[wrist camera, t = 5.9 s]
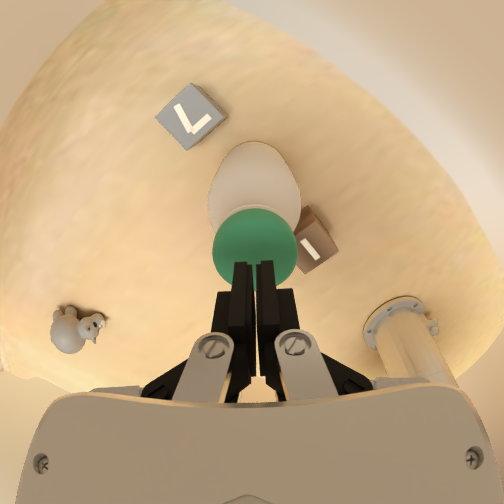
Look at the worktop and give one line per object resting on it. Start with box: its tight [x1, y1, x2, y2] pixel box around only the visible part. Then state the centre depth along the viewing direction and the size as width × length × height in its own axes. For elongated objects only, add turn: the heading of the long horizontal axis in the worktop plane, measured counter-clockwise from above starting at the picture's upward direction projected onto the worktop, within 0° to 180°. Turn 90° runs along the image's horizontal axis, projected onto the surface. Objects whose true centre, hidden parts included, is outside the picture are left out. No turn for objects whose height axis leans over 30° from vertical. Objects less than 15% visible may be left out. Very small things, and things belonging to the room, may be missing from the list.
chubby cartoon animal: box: [51, 306, 106, 354], centre depth 41 cm, size 7×12×8 cm, turn 95°
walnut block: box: [293, 206, 339, 274], centre depth 33 cm, size 5×5×5 cm
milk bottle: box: [208, 142, 301, 291], centre depth 23 cm, size 8×8×20 cm
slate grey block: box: [155, 83, 228, 150], centre depth 26 cm, size 5×5×5 cm
